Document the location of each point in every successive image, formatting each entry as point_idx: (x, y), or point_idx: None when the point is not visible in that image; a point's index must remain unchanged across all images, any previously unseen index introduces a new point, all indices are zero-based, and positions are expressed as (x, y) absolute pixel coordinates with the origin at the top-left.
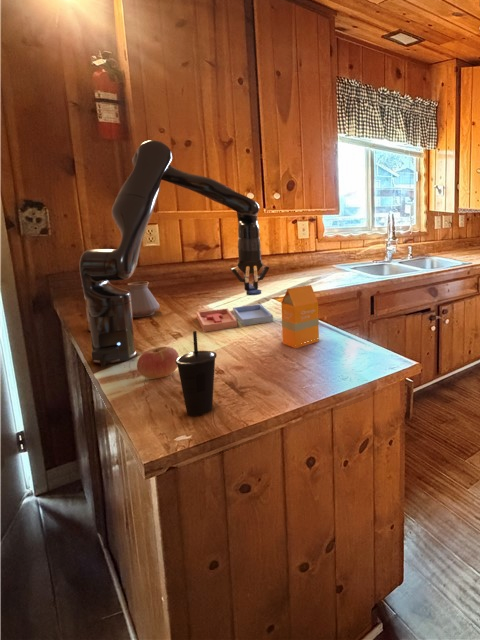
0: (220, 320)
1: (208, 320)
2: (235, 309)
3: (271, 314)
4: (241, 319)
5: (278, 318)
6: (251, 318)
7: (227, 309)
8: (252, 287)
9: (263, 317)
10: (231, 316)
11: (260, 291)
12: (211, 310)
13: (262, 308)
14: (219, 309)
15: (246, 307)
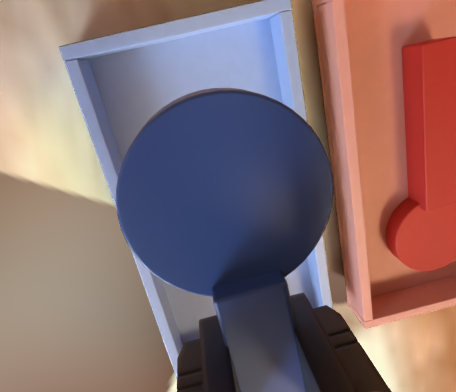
0: (428, 52)
1: None
2: (325, 294)
3: (71, 77)
4: (294, 44)
5: (42, 118)
6: (224, 9)
7: (367, 306)
8: (252, 347)
9: (133, 30)
10: (355, 138)
11: (123, 161)
12: (447, 305)
13: (162, 300)
14: (407, 316)
15: None
